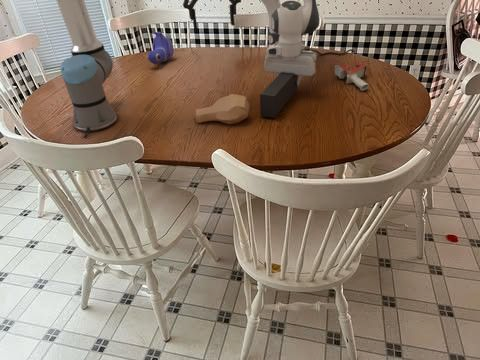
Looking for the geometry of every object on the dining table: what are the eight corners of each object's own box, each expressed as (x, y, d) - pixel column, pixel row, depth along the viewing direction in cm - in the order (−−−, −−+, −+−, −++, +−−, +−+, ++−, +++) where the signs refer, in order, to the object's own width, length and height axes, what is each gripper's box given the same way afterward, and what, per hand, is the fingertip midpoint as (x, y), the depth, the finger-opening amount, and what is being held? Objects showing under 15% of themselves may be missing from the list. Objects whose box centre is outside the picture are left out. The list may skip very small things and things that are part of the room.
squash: (253, 125, 125) (249, 104, 119) (198, 134, 127) (191, 114, 121) (250, 107, 133) (246, 86, 126) (198, 116, 134) (192, 96, 128)
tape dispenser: (364, 96, 143) (378, 76, 155) (367, 83, 139) (381, 65, 152) (323, 87, 150) (339, 69, 163) (324, 75, 147) (341, 57, 159)
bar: (274, 118, 127) (274, 96, 122) (260, 116, 129) (259, 94, 124) (297, 89, 147) (298, 69, 142) (284, 87, 149) (285, 67, 144)
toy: (162, 64, 198) (141, 70, 176) (157, 31, 191) (135, 33, 169) (178, 63, 196) (160, 69, 173) (174, 30, 189) (154, 32, 167)
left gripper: (242, -46, 121) (244, 20, 133) (168, -40, 116) (178, 28, 129) (247, -45, 115) (250, 25, 127) (170, -39, 110) (181, 33, 123)
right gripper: (319, 48, 134) (316, 83, 142) (268, 44, 141) (268, 78, 149) (314, 53, 129) (312, 89, 138) (262, 49, 137) (262, 84, 145)
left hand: (214, 26), depth 128 cm, fingers open, 13 cm apart
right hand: (288, 84), depth 144 cm, fingers closed on bar, 5 cm apart
